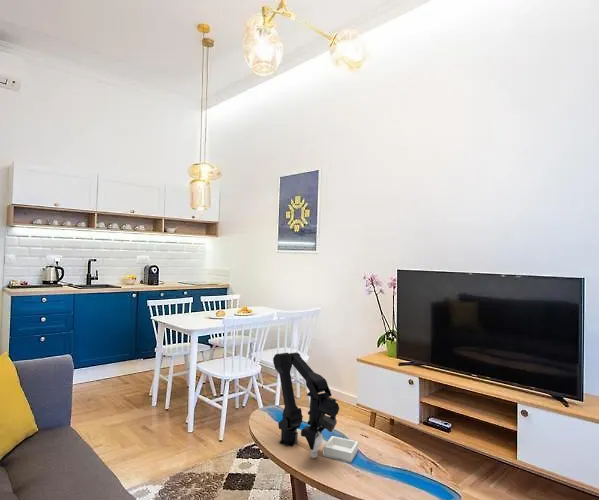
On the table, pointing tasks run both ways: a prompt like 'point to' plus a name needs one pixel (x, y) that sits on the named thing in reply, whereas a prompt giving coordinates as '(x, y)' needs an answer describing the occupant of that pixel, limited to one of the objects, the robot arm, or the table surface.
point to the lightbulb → (316, 445)
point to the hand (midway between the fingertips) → (314, 446)
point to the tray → (340, 449)
